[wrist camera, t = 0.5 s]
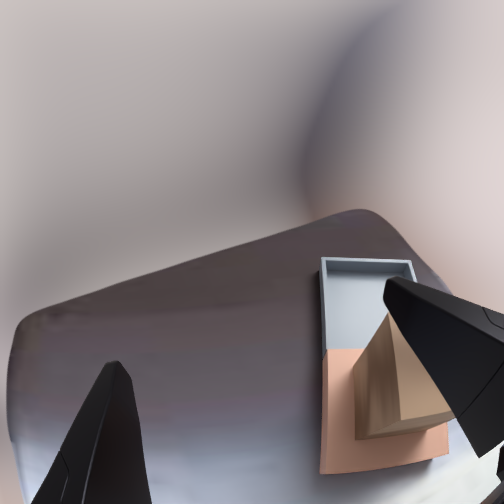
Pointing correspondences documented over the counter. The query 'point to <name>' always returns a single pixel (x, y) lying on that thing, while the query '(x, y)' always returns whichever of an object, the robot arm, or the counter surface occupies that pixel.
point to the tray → (355, 298)
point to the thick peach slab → (343, 427)
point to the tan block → (394, 388)
